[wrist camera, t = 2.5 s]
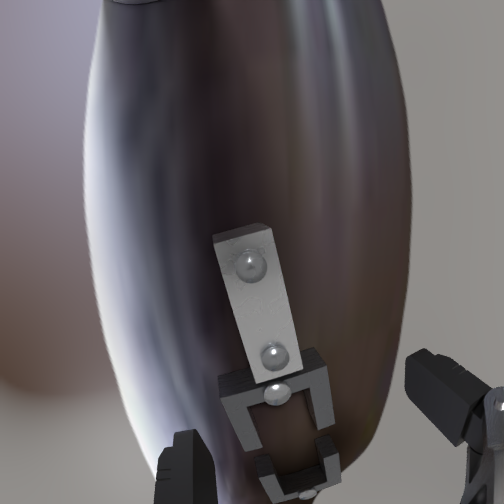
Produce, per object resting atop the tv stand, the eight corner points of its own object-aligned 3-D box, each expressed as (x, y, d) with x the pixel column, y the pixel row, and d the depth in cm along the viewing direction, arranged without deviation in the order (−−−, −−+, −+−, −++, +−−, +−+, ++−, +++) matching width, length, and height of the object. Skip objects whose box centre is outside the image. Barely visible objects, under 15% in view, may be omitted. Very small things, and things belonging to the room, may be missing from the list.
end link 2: (333, 466, 27) (343, 486, 24) (268, 486, 27) (274, 508, 23) (328, 434, 26) (340, 456, 22) (254, 457, 25) (259, 482, 22)
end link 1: (216, 373, 22) (219, 401, 19) (313, 344, 23) (329, 367, 20) (241, 429, 24) (245, 456, 20) (323, 404, 25) (337, 427, 21)
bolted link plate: (212, 234, 20) (213, 245, 16) (259, 221, 21) (273, 229, 16) (248, 355, 23) (257, 387, 18) (288, 342, 23) (305, 372, 19)
